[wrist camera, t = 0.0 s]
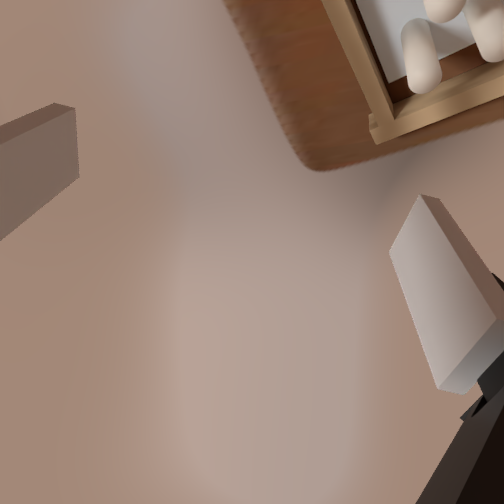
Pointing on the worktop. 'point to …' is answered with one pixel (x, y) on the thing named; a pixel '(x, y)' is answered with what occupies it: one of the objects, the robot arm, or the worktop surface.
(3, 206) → the robot arm
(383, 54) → the pin deck mark
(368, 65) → the wooden angle block
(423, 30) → the pin
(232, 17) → the worktop surface
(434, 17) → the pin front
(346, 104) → the worktop surface
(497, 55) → the pin
